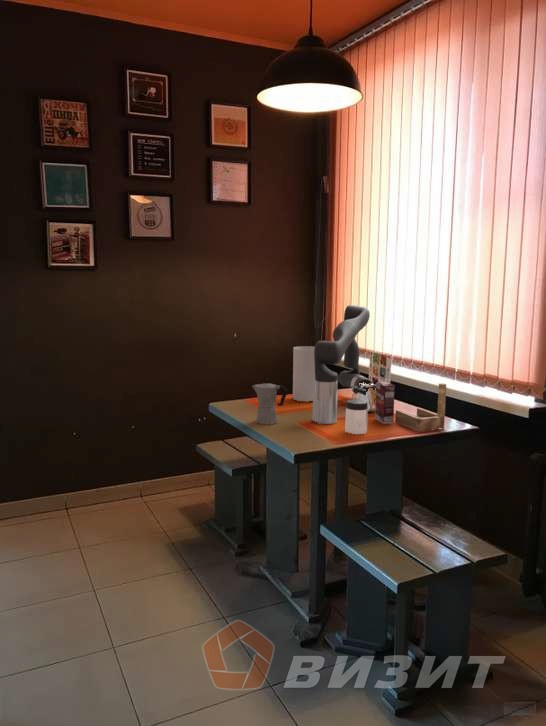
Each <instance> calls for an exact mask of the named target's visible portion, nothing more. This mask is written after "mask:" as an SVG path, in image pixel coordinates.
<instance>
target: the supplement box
mask: <svg viewBox="0 0 546 726" xmlns="http://www.w3.org/2000/svg"><path fill="white" fill-rule="evenodd" d="M375 385H376V390H375V391H376V393H375V412H374V414H375V415H374V418H375V420H377V421H379V422H380V423H382V424H383V425H386V424H388V425H389V424H394V420H395V419H394V415H395V414H394V413H395V412H394V410H395V391H396V389H395V388H396V386H395V384H392V383H390V382H387V381H376V383H375Z"/></svg>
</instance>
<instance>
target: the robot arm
mask: <svg viewBox="0 0 546 726" xmlns="http://www.w3.org/2000/svg"><path fill="white" fill-rule="evenodd" d="M370 314H371V313H370V310H369V309H368V308H367V307H365V306H359V305H354V304H353V305H352V304H348V305H347V306H346V308H345V310H344V313H343V321H340V322H339V323H338V324H337V326H336V327H335V328H334V330H333V331H332V339H333V340H332V341H331V340H318V341H316V343H315V345H314V347H315V349H314V362H315V398H313V402H312V416H311V417H312V421H313V422H315V423H316V422H317V423H316V424H319V425H331V424H332V425H333V424H335V423H337V421H338V391H339V390H338V387H339V385H338V384H340V385H341V386H342V387H346V388H351V392H352V393H354V394H359V395H362V394H363V396H367V395H366V392H367V391H368V389H369V388H373V390H375V388H376V384H374V383H373V382H372V380H371V379H369V378H367V377H366V376H363V375H361V372H360V366H359V364H360V363H359V360H360V348H359V344H358V342H357V340H356V339H355V338H356V337H357V335H358V334H359V332H360V331H361V330H363V329H364V328H365V327H366V326H367V325H368V323H369V321H370ZM342 359H343V366H344V367H345V368H348V369H352V370H343V371H341V372H339V374H338V373H337V372H335V371H333V370H331V369H329V367H327V366H326V365H338V364H339V363H340V362H341V361H342ZM338 382H339V383H338ZM363 382H364V384H363V385H361V384H360V385H359V383H363ZM365 383H366V384H369V385H371V386H372V387H369V386H366V384H365ZM371 383H372V384H371ZM373 394H376V390H375V392H374V393H373Z"/></svg>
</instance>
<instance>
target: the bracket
mask: <svg viewBox="0 0 546 726" xmlns="http://www.w3.org/2000/svg"><path fill="white" fill-rule="evenodd" d="M446 395H447V384H446V383H444V382H443V383H438V395H437V397H438V398H437V410H436V411H437V412H436V413H435V412H433V411H430V410H427V409H425V408H422V407H417V408H416V414H414V415H413V414H410V413H408V412H405V411H403V410H401V409H395V419H394V421H395V423H396V424H399V425H400V426H401V425H402V426H404V427H406V428H409V429H410V428H411V430H413V431H415V430H416V432H418V431H422V432H426V431H425V430H431V431H433V430H432V429H439V428H444V429H445V419H446V418H445V417H446V397H447V396H446Z"/></svg>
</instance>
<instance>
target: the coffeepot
mask: <svg viewBox="0 0 546 726" xmlns="http://www.w3.org/2000/svg"><path fill="white" fill-rule="evenodd" d="M264 382H265V383H259V384H253V385H252V386H251V387H252V388H253V390H254V391H255V393H256V397H257V403H258V408H257V412H256V414H257V415H256V420H255V423H256V424H258V423H260V424H259V425H262V424H271V425H275V424H274V423H276V424H277V423H278V417H277V409H276V400H277V394H278V393H277V392H278V391H282V394H281V398H280V403H279V402H278V403H277V406H279V407H280V406H284V402H285V400H286V397H287V393H288V389H287V388H286V387H285V385H279V384H278V385H277V384H273V383H270V382H269V378H264Z"/></svg>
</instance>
